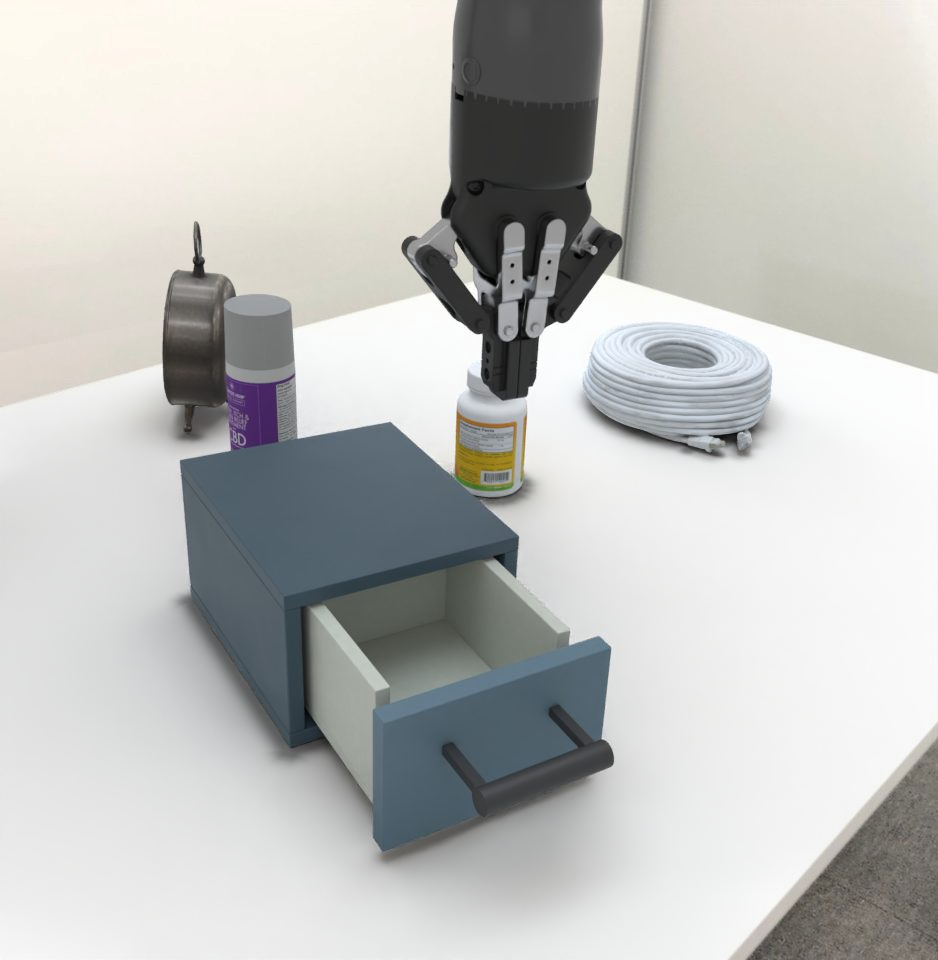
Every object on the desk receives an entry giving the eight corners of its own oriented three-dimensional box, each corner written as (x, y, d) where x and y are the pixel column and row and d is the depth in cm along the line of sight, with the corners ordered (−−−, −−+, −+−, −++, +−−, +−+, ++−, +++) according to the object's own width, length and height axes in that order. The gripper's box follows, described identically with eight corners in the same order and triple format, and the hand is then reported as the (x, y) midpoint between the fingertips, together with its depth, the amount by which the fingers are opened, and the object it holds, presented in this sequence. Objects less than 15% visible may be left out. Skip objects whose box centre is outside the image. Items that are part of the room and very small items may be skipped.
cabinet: (510, 675, 72) (519, 536, 68) (290, 748, 65) (283, 596, 60) (389, 547, 84) (390, 421, 80) (190, 596, 76) (179, 459, 72)
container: (221, 504, 87) (207, 308, 80) (254, 477, 91) (244, 289, 84) (279, 517, 86) (271, 320, 79) (310, 489, 90) (305, 300, 83)
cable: (748, 464, 102) (758, 399, 99) (554, 424, 105) (559, 360, 102) (780, 392, 117) (789, 334, 114) (610, 359, 120) (615, 301, 118)
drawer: (650, 821, 61) (667, 697, 58) (427, 919, 54) (431, 786, 50) (461, 621, 75) (465, 512, 72) (265, 678, 68) (258, 560, 65)
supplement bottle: (482, 461, 97) (487, 349, 93) (536, 481, 95) (544, 368, 91) (440, 484, 93) (443, 368, 89) (495, 506, 91) (501, 389, 86)
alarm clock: (185, 385, 104) (170, 202, 97) (249, 386, 106) (240, 205, 98) (164, 439, 95) (146, 241, 88) (235, 440, 96) (223, 244, 89)
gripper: (595, 68, 67) (570, 356, 75) (373, 66, 60) (372, 385, 67) (673, 95, 61) (638, 402, 69) (440, 97, 54) (430, 439, 62)
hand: (506, 393), depth 68 cm, fingers closed
